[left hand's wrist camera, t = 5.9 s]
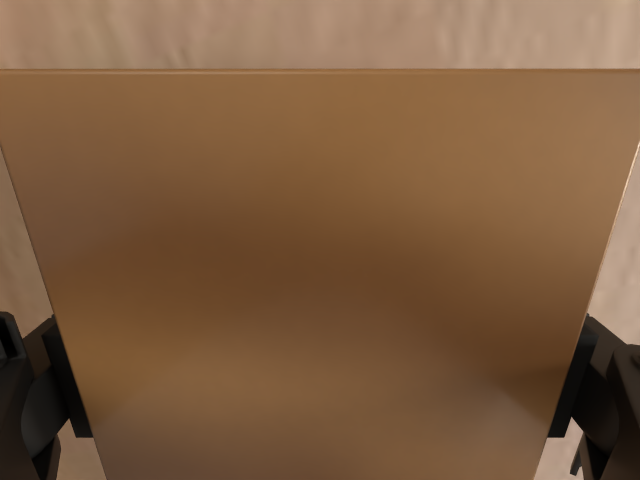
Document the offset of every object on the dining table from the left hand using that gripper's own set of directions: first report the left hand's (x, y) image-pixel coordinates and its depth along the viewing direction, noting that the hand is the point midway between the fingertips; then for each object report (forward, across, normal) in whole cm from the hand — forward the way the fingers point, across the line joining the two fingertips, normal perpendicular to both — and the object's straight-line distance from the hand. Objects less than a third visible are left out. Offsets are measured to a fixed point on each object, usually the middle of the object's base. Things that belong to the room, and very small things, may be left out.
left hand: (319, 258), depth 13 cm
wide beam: (0, 0, -22) cm, 22 cm away
